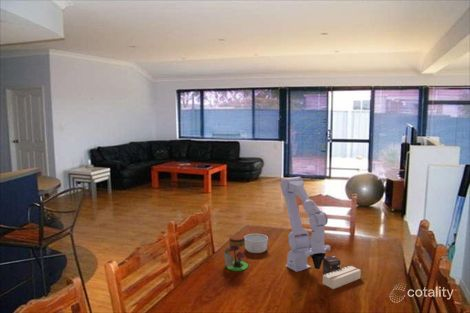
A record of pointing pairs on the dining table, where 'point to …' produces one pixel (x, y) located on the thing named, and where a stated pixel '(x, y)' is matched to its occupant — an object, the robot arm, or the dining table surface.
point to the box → (330, 264)
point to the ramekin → (256, 243)
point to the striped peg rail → (341, 277)
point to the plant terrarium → (234, 245)
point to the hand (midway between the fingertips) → (317, 268)
